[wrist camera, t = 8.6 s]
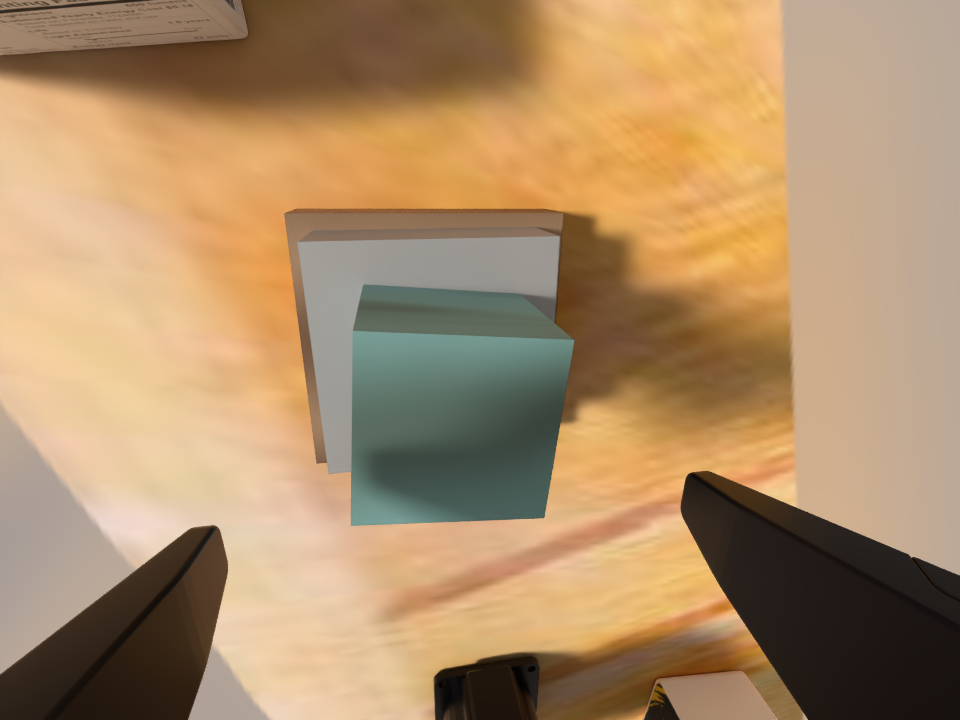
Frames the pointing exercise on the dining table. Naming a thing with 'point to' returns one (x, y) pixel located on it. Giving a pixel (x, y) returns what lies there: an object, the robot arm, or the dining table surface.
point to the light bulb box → (115, 23)
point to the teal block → (453, 405)
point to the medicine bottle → (707, 698)
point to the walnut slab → (375, 219)
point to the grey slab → (406, 263)
